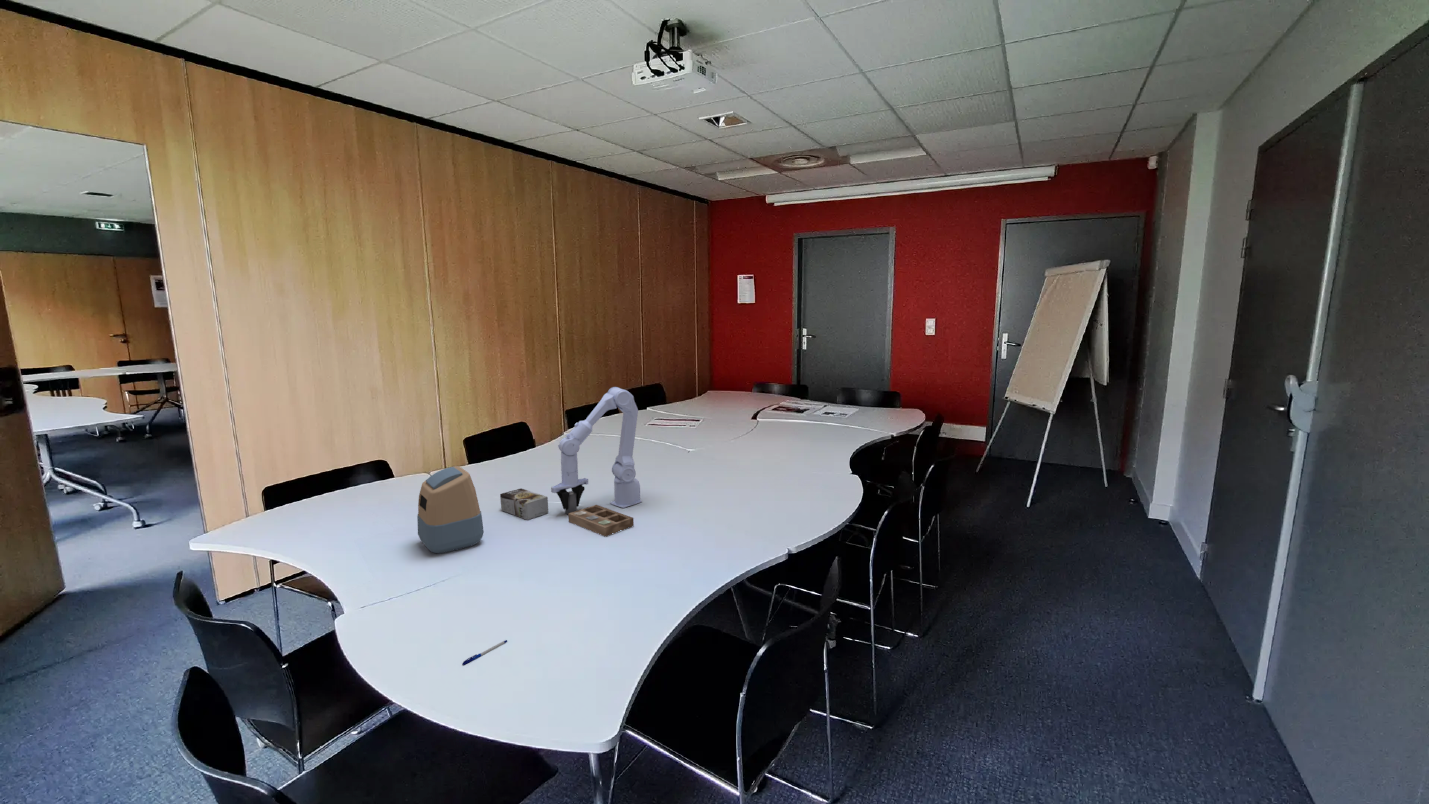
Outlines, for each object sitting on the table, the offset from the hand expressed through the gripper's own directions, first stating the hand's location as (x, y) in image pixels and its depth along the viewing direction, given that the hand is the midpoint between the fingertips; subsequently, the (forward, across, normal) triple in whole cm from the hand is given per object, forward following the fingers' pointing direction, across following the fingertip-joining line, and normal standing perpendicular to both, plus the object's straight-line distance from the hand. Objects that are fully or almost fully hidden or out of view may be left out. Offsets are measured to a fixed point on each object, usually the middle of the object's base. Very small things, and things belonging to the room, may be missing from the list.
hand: (570, 507), depth 206 cm
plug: (+2, 0, 0) cm, 2 cm away
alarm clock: (+2, +41, -5) cm, 41 cm away
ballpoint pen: (+2, +63, +58) cm, 86 cm away
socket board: (+2, 0, +17) cm, 17 cm away
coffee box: (-1, +10, -5) cm, 11 cm away
